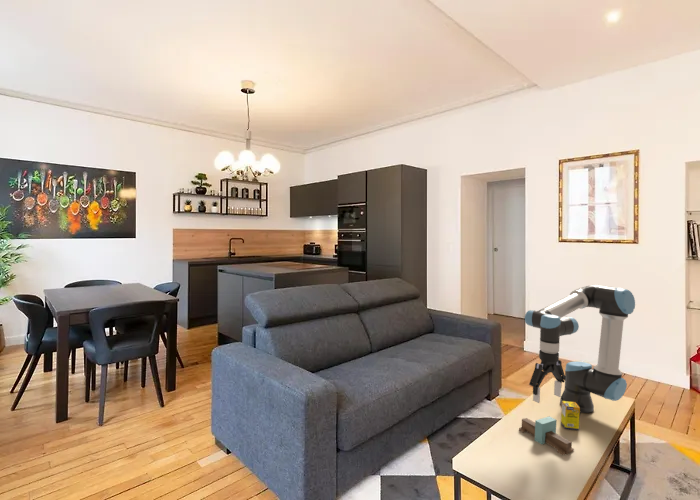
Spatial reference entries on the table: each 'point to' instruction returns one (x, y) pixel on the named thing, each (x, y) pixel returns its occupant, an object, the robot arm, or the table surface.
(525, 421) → the rail
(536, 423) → the slotted block
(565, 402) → the supplement box
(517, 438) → the table surface
